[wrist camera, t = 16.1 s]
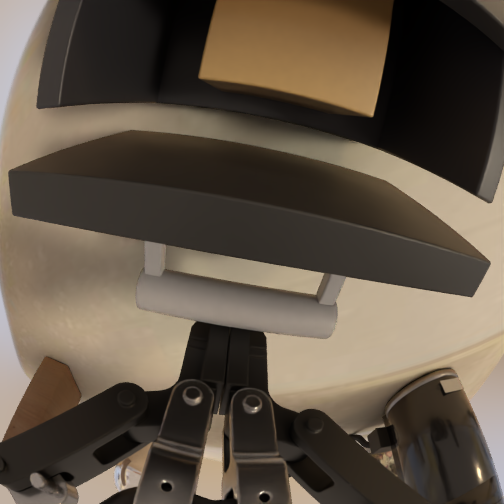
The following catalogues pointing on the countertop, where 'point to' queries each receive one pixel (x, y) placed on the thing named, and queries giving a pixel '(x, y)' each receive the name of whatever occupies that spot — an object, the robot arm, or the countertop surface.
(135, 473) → the light bulb
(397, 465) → the robot arm
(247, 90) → the cube
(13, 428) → the wooden block
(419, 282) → the pull-out drawer
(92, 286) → the countertop surface
